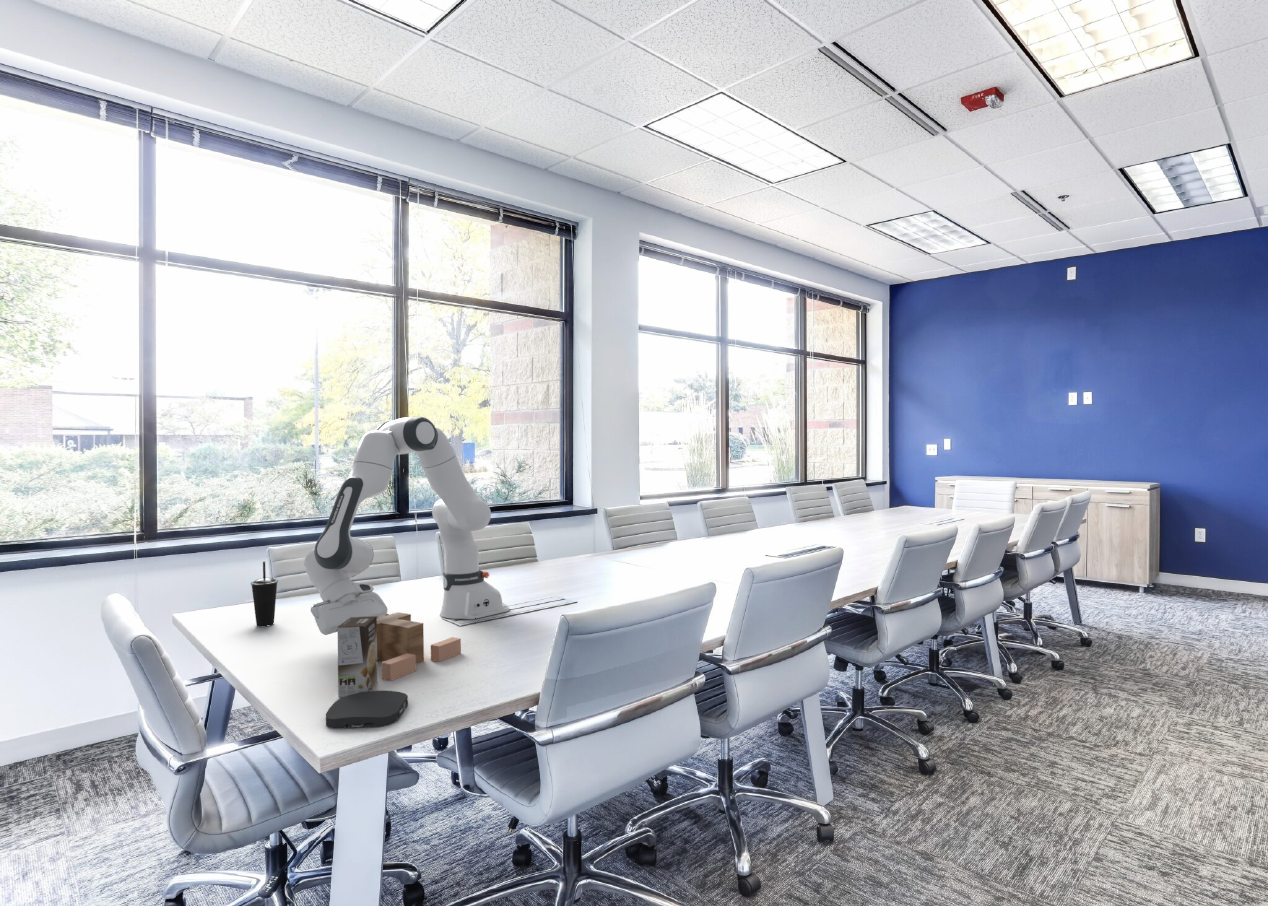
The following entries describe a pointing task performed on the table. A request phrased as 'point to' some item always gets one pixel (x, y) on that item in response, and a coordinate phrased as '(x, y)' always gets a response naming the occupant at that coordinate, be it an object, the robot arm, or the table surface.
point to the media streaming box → (367, 709)
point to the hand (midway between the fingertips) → (366, 637)
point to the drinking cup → (264, 599)
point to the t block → (399, 637)
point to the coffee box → (357, 655)
